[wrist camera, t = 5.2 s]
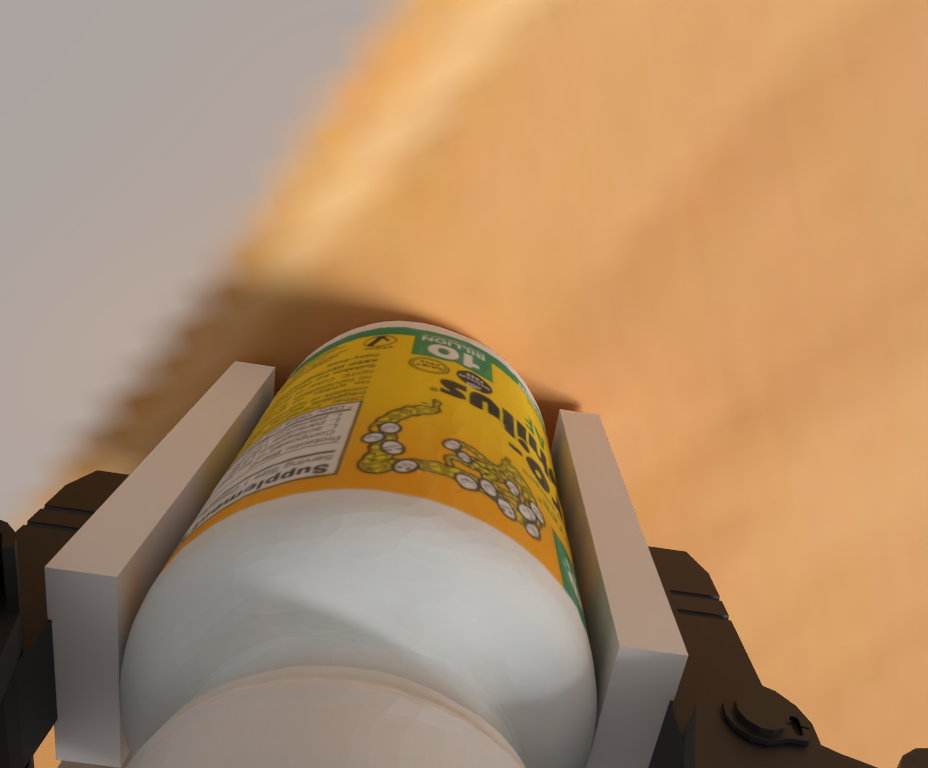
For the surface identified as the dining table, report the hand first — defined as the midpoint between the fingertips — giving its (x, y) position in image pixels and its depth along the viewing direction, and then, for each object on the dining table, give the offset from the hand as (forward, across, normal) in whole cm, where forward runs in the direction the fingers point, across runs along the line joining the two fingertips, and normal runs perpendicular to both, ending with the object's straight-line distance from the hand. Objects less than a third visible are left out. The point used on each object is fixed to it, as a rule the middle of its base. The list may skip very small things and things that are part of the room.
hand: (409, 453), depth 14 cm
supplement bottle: (+1, 0, 0) cm, 1 cm away
